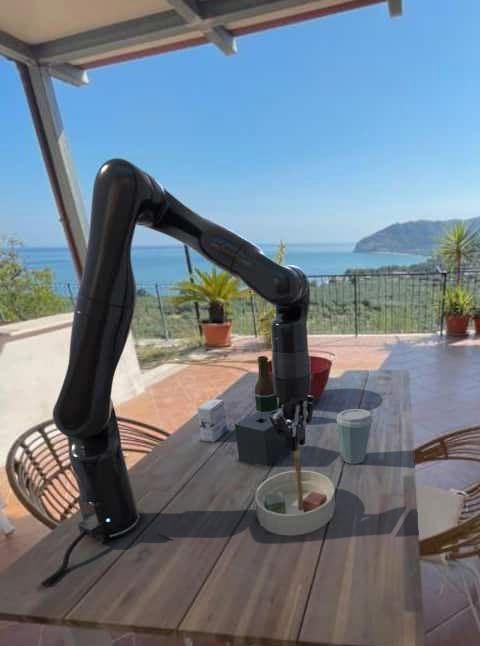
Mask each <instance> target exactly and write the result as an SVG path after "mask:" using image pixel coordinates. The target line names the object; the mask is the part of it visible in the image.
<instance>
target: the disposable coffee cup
mask: <svg viewBox="0 0 480 646" xmlns="http://www.w3.org/2000/svg"><path fill="white" fill-rule="evenodd" d="M373 422H374V420H373V415H372V413H371V411H368V410H367V409H363V408H362V409H361V408H350V409H346V410H342V411H341V412H339V413H338V414H337V417H336V424H337V429H338V436H339V443H340V449H341V453H342V454H341V455H342V459H343V461H344V462H346V463H348V464H351V465H352V464H353V465H355V464H360V463H362V462H364V461H365V458H366V455H367V449H368V444H369V438H370V433H371V428H372V424H373Z"/></svg>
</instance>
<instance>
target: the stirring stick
mask: <svg viewBox="0 0 480 646" xmlns="http://www.w3.org/2000/svg"><path fill="white" fill-rule="evenodd" d="M288 428H289V430H291V426H289V425H288ZM303 438H304V426H303V425H299V424H298V425H296V440H297V450H296V451H295V452H293V454H294V455H293V457H294V471H296V485H297V498H298V510H300V511H301V510H303V509H304V508H303V494H302V479H301V470H302V466H301V450H300V449H301V448H300V445H299V441H301V440H302V439H303Z"/></svg>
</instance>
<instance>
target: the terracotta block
mask: <svg viewBox="0 0 480 646" xmlns="http://www.w3.org/2000/svg"><path fill="white" fill-rule="evenodd" d="M326 501H327V497H326V495H323V494H320V493H316V492H311V493H310V494H309V495H308V496H307V497H306V498H305V499H304V500H303V507H304V512H308V511H311V510H314V509H316V508H318V507H319V506H321V505H323V504H324V503H325V502H326Z"/></svg>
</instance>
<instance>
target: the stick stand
mask: <svg viewBox="0 0 480 646" xmlns="http://www.w3.org/2000/svg"><path fill="white" fill-rule="evenodd" d="M270 415H271V414H269V413H264V412H260V411H258V412H257V411H256V412H254V413H253V414H251V415H249V416H247V417H245V418H243V419H241V420H239V421H238V422H236V423H234V432H235V438H236V447H237V454H238V461H239V462H241V463H246V464H249V465H255V464H256V465H260V466H263V467H266V468H267V467H269V466H270V465H272V464H273V463H274V462H276V461H278V460H279V459H280V458H282V457H283V456H284V457H285V456H288V454H290V451H289V450H287V448H286V437H285V436H280V435H278V434H277V432H276V430H275V428H274V426H273V424H272V422H271V420H270V418H269V417H270Z"/></svg>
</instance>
